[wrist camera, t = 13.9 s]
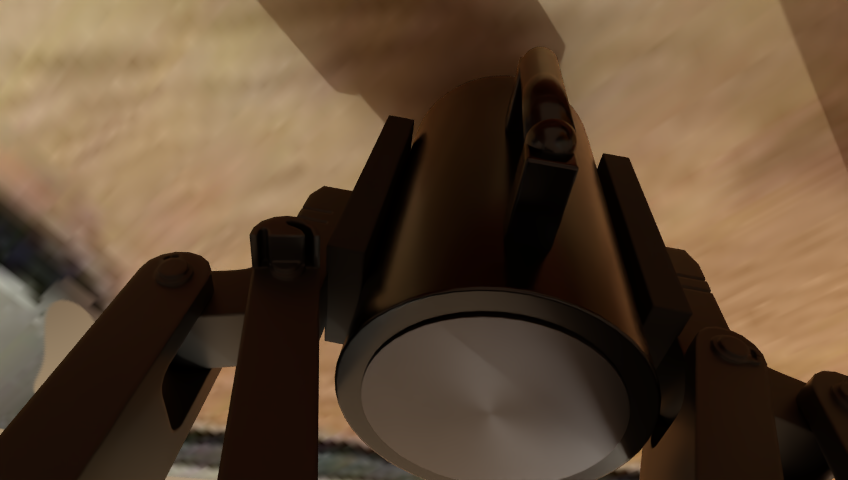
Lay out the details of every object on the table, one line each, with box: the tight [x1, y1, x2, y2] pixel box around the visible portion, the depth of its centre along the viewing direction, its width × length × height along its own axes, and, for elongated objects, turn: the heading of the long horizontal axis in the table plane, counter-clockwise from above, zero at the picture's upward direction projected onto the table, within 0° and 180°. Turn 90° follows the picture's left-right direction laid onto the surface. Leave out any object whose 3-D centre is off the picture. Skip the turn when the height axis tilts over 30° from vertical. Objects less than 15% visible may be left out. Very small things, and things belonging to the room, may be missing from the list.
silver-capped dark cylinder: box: [335, 47, 661, 480], centre depth 12 cm, size 8×6×10 cm
